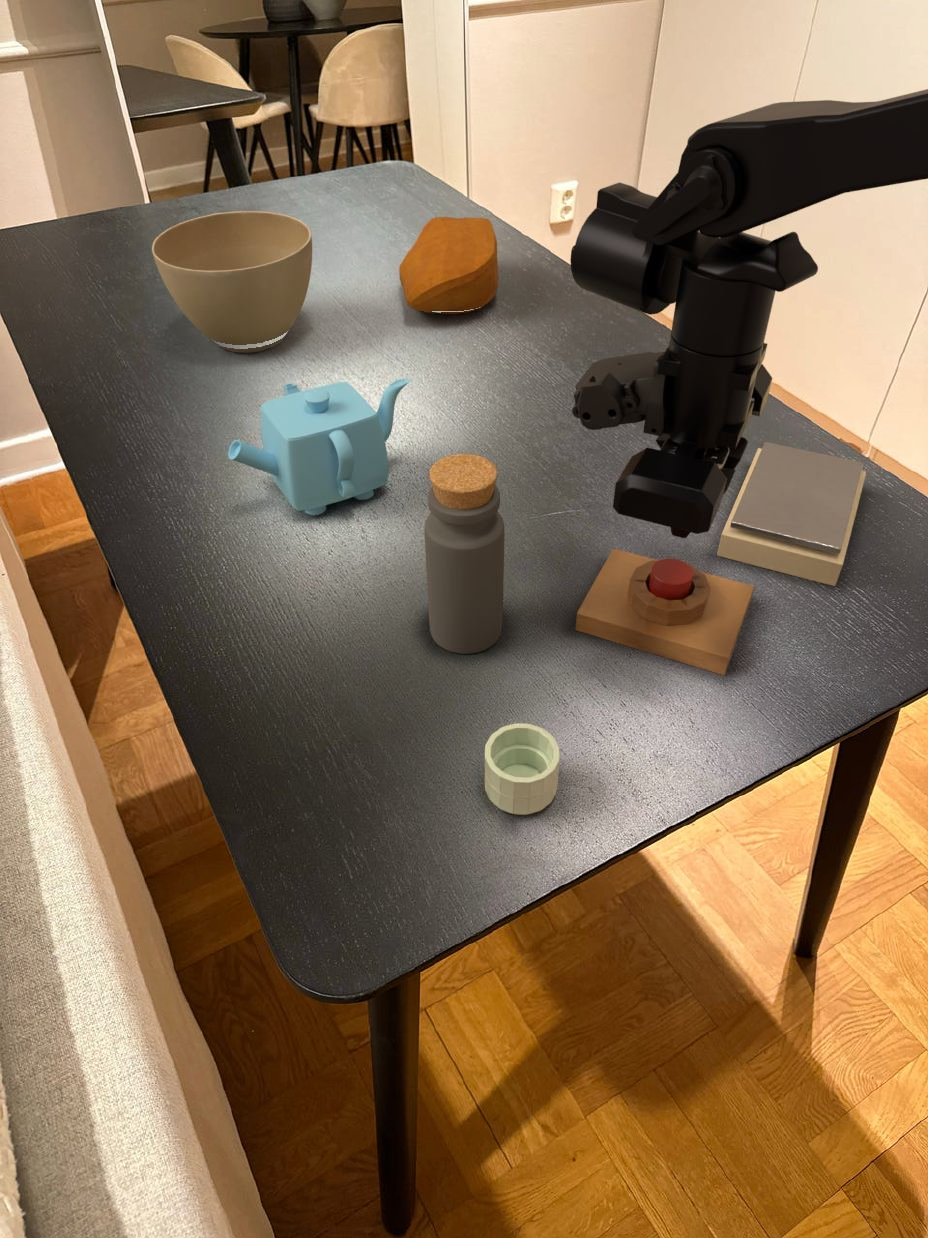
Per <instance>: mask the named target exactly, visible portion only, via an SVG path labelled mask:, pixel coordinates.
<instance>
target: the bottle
mask: <svg viewBox="0 0 928 1238" xmlns="http://www.w3.org/2000/svg"><path fill="white" fill-rule="evenodd" d="M497 479H498V469H497V466H496V465H495V464H494V463H493V462H492V461H490V459H488V458H486V457H483V456H480V455H477V454H472V453H471V454H470V453H459V454H458V453H457V454H452V455H447V456H445V457H443V458H440V459H439V460H437V461H435V463H434V464H433V465H432V466H431V468H430V470H429V480H430V483H431V486H430V488H429V490H428V492H427V507H428V509H429V511H430V513H429V514H428V515H427V517H426V519H425V520H424V550H425V565H426V566H425V570H426V587H427V588H426V590H427V605H428V606H427V607H428V621H429V632H430V635H431V638H432V639H433V641H434V642H435V643H436V644H437V645H438V646H439V647H440V648H442V649H444V650H445V651H448V652H451V653H454V654H460V655H470V654H476V653H477V654H478V653H480V652H483V651H486V650H488V649H489V648H491V647H492V646H494V645H495V644H496V643H497V642H498V640H499V639H500V638H501V634H502V631H503V616H504V615H503V614H504V581H505V580H504V576H505V575H504V574H505V573H504V572H505V522H504V518H503V517H502V515H501V514H500V513H499V509H500V505H501V493H500V492H501V491H500V489H499V488H498V486H497V485H496V483H497Z"/></svg>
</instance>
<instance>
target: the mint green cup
mask: <svg viewBox="0 0 928 1238" xmlns="http://www.w3.org/2000/svg"><path fill="white" fill-rule="evenodd" d="M560 761H561V753H560V746H559V744H558V742H557V741H556V738H555V737H554V735H552V734H551V733H550V732H548V731H547V730H546V729H545V728H543V727H540V726H537V725H536V724H535V725H534V724H531V723H519V722H518V723H517V722H516V723H511V724H507V725H504V726H502V727H499V729H497V730H496V731H494V732H493V733H492V734H491V735H490V736H489V738H488V740H487V742H486V743H485V746H484V790H485V792H486V795H487V797H488V799H489V801H490V802H492V803H493V805H494V806H496V807H497V808H498V809H500V810H501V811H504V812H506V813H509V814H512V815H517V816H527V815H532V814H534V813H538V812H540V811H542V810H543V809H545V808H546V807H547V806H549V805H550V804H551V803H552V802H553V800H554V798H555V796H556V794H557V791H558V783H559V771H560Z"/></svg>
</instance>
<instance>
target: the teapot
mask: <svg viewBox="0 0 928 1238" xmlns="http://www.w3.org/2000/svg"><path fill="white" fill-rule="evenodd" d="M410 381H411V379H410V378H408V377H407V378H401V379H397V380H395V381H393V382H391V383H390V384H389V385H388V386H387V387H386V388H385V390H384V391H383V393H382V395H381V399H380V402H379V406H378V409H377V411H376V410H375V409H374V408H373V406H371V404H370V403H369V402H368V401H367V400H366V399H365V397H363V396H362V395H361V394H360V393H359V392H358V391H357V390H356V389H355V388H354V387H353V386H352V385H351V384H350V383H349V382H347V381H340V382H334V383H329V384H325V385H321V386H317V387H312V388H309V389H304V390H300V389H299V388H298V385H297V384H296V383H295V382H288V383H286V384H282V387H283V392H284V395H283V396H279V397H277V398H273V399H271V400H267V401H264V402H263V403H262V404H261V405H260V436H261V446H262V449H261V448H259V447H256V446H254V445H251V444H249V443H247V442H245V441H243V440H240V439H235V440H233V442H232V443H231V444H230V446H229V448H228V451H227V452H228V453H227V456H228V458H229V459H230V460H232V461H234V462H237V463H240V464H243V465H246V466H248V467H250V468H254V469H255V470H258V471H261V472H264V473H267V474H270V476H271V478H272V479H273V481H274V482H275V484H276V486H277V487H278V488H279V490H280V491H281V493H282V494H283V496H284V497H285V498H286V500H287V501H288V503H289V504H290V505H291V506H292V508H293V509H294V510H296V511H299V512H300V511H304V512H305V513H306V514H307V515H309V516H318V515H321V514H323V513H324V512H325V511H326V510H327V506H328V505H331V504H335V503H339V502H341V501H345V500H348V499H351V498H354V499H356V500H360V501H365V500H369V499H371V498H372V497H373V496H374V495H375V493H374V490H376V489H378V488H380V487H383V486H385V485H386V484H388V482H389V481H388V479H389V474H390V463H389V457H388V450H387V444H386V442H387V441H388V440H389V438H390V435H391V433H392V430H393V425H394V414H395V406H396V401H397V398H398V396H399V394H400V392H401V391H402V389H404V388H405V387H406V386H407V385H408V384H409V383H410Z"/></svg>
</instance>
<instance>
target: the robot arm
mask: <svg viewBox="0 0 928 1238" xmlns="http://www.w3.org/2000/svg"><path fill="white" fill-rule="evenodd" d="M922 180H928V88H926V89H923V90H917V91H914V92H911V93H907V94H902V95H899V96H894V97H889V98H886V99H882V100H877V101H860V102H859V101H857V102H856V101H855V102H854V101H853V102H851V101H842V100H833V99H824V100H821V99H820V100H803V101H802V100H801V101H780V102H775V103H774V102H773V103H770V104H768V105H765V106H761V107H758V108H754V109H752V110H749V111H745V112H742V113H739V114H736V115H733V116H729V117H727V118H724V119H720V120H717V121H714V122H711V123H707V124H705V125H704V126H702V127H700V128H698V129H696V130H695V131H694V132H693V133H692V134H691V135H690V136H689V137H688V138H687V142H686V146H685V148H684V150H683V152H682V154H681V156H680V161H679V165H678V169H677V173H676V174H675V175H674V176H673V177H672V179H671V180H670V181H669V182H668V184H667V185H666V186H665V187H664V189H662V191H661V192H660V194H658V196H655V195H651V194H648V193H646V192H642V191H641V190H639V189H637V188H636V187H634V186H632V185H629V184H627V183H623V182H616V183H613V184H611V185H608V186H604V187H602V188H600V189H599V190H597V193H596V194H597V195H596V207H595V208H594V209H593V210H592V212H591V213H590V214H589V215H588V216H587V217H586V219H585V221H584V222H583V224H582V226H581V227H580V230H579V232H578V235H577V237H576V241H575V244H573V246H572V248H571V250H570V271H571V275H572V279H573V281H574V282H575V283H576V286H578V287H579V288H581V289H583V290H586V291H588V292H591V293H593V294H596V295H598V296H601V297H603V298H606V299H608V300H611V301H612V302H613V301H614V302H615V303H618V304H621V305H623V306H626V307H629V308H631V309H633V310H636V311H639V312H641V313H643V314H647V315H657V314H659V313H661V312H663V311H665V310H666V309H667V308H668V307H670V305H672V304H674V311H673V318H672V325H671V331H670V337H669V343H668V346H667V348H666V349H665V351H658V352H653V351H645V352H638V353H631V354H625V355H620V356H619V355H618V356H612V357H607V358H602V359H600V360H597V361H595V362H594V363H592V364H591V365H590V366H589V367H588V368H587V370H586V371H585V372H584V374H583V375H581V377H580V379H579V380H578V381H577V383H576V384H575V391H574V393H573V398H574V406H573V407H572V409H571V412H572V415H573V416H574V417H575V418H577V419H579V420H580V423H581V425H582V426H583V427H584V428H586V429H587V430H591V431H597V430H602V429H609V428H617V427H619V426H620V425H628V424H637V423H640V422H643V421H644V423H643V424H644V425H643V434H648V435H653V436H656V437H657V438H656V440H655V442H656V443H657V445H658V447H659V448H660V449H656V448H651V447H646V448H644V449H642V450H640V451H639V452H637V453H635V454H634V455H632V456H631V457H630V459H629V460H628V462H627V464H626V465H625V467H624V468H623V470H622V472H621V474H620V475H619V477H618V478H617V480H616V482H615V485H614V486H615V487H614V493H613V503H612V508H613V509H614V510H615V511H616V513H617V514H618V515H620V516H621V515H622V516H625V517H629V518H632V519H636V520H641V521H645V522H648V523H653V524H657V525H660V526H665V527H668V528H670V532H671V533H670V534H671V535H672V536H673V537H677V538H681V539H687V538H688V537H689V536H690V534H691V533H692V534H696V535H699V534H704V533H707V532H710V529H711V527H712V525H713V523H714V521H715V518H716V516H717V514H718V512H719V510H720V507H721V503H722V500H723V496H724V495H725V494H726V493H727V490H728V489H729V486H730V485H731V482H732V480H733V478H734V476H735V473H736V467H738V464H739V463H740V462H741V460H742V458H743V455H744V453H745V451H746V449H747V446H748V444H749V441H748V439H747V438H745V437H744V436H742V435H743V434H744V432H745V429H746V427H747V425H748V423H749V420H750V418H751V416H756V417H761V415H762V413H763V410H764V408H765V406H766V404H767V402H768V398H769V394H770V389H771V386H772V381H773V377H772V375H771V374H770V372H769V371H768V369H767V368H766V367H765V365H764V364H763V363H764V360H765V357H766V354H767V353H766V352H767V348H768V343H766V342H765V339H766V335H767V330H768V326H769V321H770V317H771V313H772V309H773V304H774V300H775V295H776V292H778V293H779V292H780V293H781V292H782V293H783V292H784V291H786V290H788V289H790V288H792V287H794V286H796V285H798V284H800V283H802V282H804V281H806V280H808V279H810V278H812V277H815V275H817V274H818V271H819V266H818V264H817V263H816V261H815V260H814V258H813V256H812V255H811V254H810V253H809V252H808V251H807V250H806V249H805V248H804V246H803V245H802V243H801V241H800V237H799V234H798V233H797V232H796V231H791V232H788V233H786V234H784V235H782V236H779V237H777V238H775V239H773V240H769V239H766V238H764V237H760V236H756V235H753V234H750V233H746V232H747V231H749V230H751V229H754V228H756V227H760V226H763V225H765V224H768V223H770V222H773V221H775V220H778V219H780V218H783V217H786V216H788V215H790V214H793V213H796V212H798V211H801V210H803V209H807V208H809V207H811V206H814V205H816V204H820V203H821V202H824V201H827V200H829V199H832V198H835V197H837V196H840V195H843V194H847V193H851V192H852V193H853V192H858V191H863V190H870V189H876V188H882V187H887V186H888V187H889V186H893V185H899V184H905V183H911V182H917V181H922ZM752 399H753V400H752Z"/></svg>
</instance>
